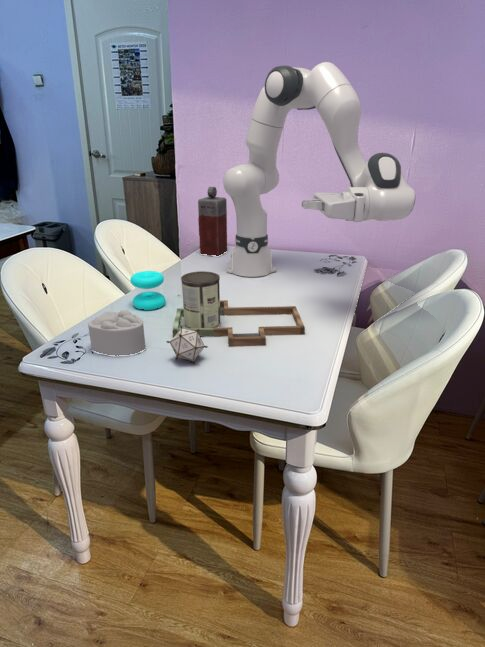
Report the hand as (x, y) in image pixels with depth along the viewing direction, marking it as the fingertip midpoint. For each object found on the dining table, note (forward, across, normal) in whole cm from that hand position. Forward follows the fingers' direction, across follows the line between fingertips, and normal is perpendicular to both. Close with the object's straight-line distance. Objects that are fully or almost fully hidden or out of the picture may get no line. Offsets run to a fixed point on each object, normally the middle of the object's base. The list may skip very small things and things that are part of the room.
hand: (302, 204), depth 121 cm
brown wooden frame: (+18, +7, +32) cm, 37 cm away
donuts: (+44, -9, +32) cm, 56 cm away
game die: (+30, +27, +32) cm, 52 cm away
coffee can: (+28, +7, +32) cm, 43 cm away
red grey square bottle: (+26, -70, +32) cm, 81 cm away
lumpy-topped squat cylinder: (+48, +20, +32) cm, 61 cm away
